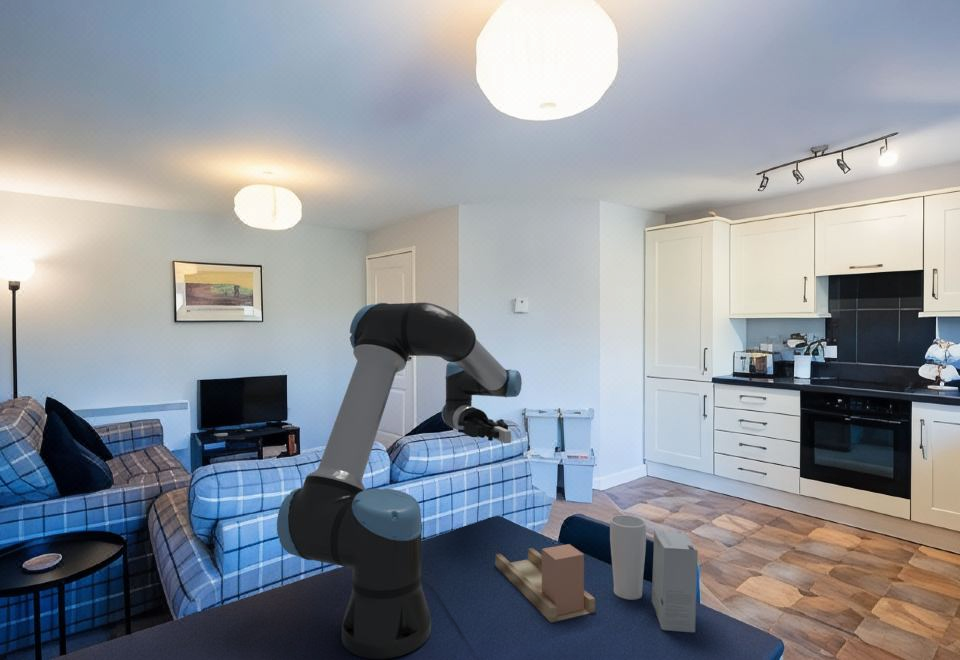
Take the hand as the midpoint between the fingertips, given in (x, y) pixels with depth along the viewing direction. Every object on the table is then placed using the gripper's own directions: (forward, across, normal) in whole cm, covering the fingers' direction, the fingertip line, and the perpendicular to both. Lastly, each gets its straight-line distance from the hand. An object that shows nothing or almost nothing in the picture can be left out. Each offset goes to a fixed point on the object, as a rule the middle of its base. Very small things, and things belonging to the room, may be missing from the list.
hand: (507, 437), depth 117 cm
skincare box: (+34, -17, -28) cm, 47 cm away
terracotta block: (+24, 0, -27) cm, 36 cm away
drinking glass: (+24, -15, -28) cm, 40 cm away
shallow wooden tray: (+15, 0, -28) cm, 32 cm away
